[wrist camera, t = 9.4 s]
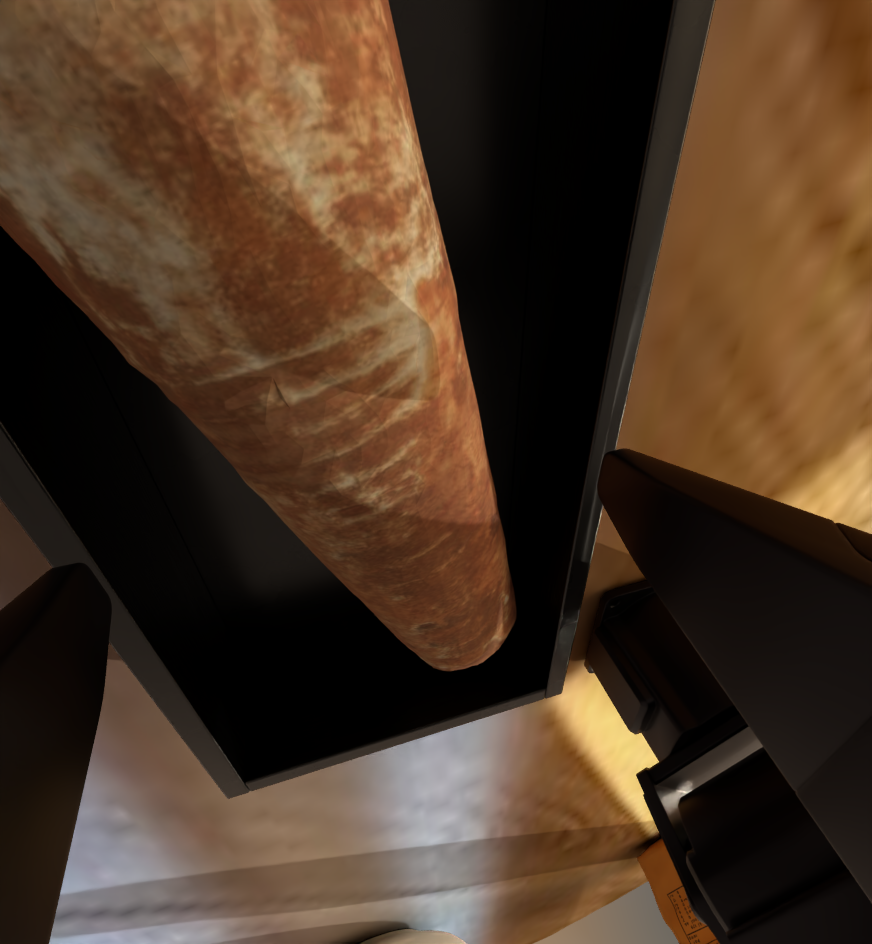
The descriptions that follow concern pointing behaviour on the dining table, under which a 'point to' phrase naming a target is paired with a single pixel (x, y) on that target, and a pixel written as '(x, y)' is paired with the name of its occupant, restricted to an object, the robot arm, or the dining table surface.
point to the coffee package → (673, 897)
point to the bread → (270, 274)
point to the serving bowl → (415, 937)
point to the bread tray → (493, 375)
